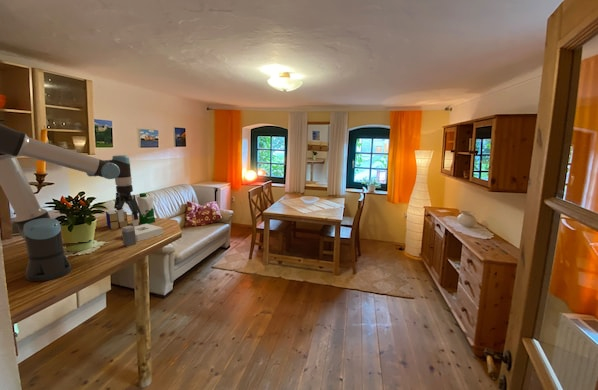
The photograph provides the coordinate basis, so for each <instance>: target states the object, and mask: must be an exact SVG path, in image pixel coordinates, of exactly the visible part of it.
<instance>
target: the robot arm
mask: <svg viewBox="0 0 598 390" xmlns="http://www.w3.org/2000/svg"><path fill="white" fill-rule="evenodd" d="M21 156H23V157H27V158H31V159H34V160H37V161H42V162H46V163H49V164H53V165H56V166H60V167H64V168H66V169H67V168H68V169H71V170H75V171H78V172H82V173H85V174H86V175H87V176H88V177H101V178H103V179H107V180H113V179H114V183H115V185H116V186H115V190H116V192H115V199H114V200H115V201H114V207H113V208H114V209H115V210H117V212H118V220H119V222H122V221H124V214H123V210H124V204H126V205H127V206H128V207H129V209H130V211H131V220H132V221H131V222H132V226H133V227H135V226H139V224H140V223H139V213H140V209H139V207H138V202H137V198H136V195H135V194H132V192H133V191H134V190H133V187H134V186H133V181H132V172H131V171H132V169H131V161H130V156H128V155H126V154H122V155H121V154H120V155H118V154H117V155H113V156H112V159H107V160H103V159H99V158H96V157H93V156H90V155H86V154H83V153H81V152H78V151H74V150H71V149H67V148H65V147H64V148H63V147H61V146H57V145H54V144H51V143H48V142H45V141H42V140H38V139H35V138H32V137H29V136H28V135H27V133H24V132H21V131H18V130H16V129H13V128H11V127H9V126H6V125H4V124H2V123H0V187H1V189H2V190H3V192H4V195H5V196H6V198H7V200H8V203H9V204H10V206H11V208H12V210H13V212H14V214H15V217H14V219H13V221H14V223H15V225H16V227H17V229H18V232H19V234H20V236H21V238H23V240H24V242H25V245H26V247H25V248H26V252H27V257H28V262H27V265H26V270H25V279H27V280H26V281H28V282H32V281H39V282H45V281H50V280H51V281H52V280H55V279H57V278H61V277H63V276H66V275H67V274H68V273H70V272H71V271H72V266H71V262H70V260H69V259H68V258H67V256H66V255H65V251H64V245H63V244H64V243H63V237H62V226H61V224H60V221H59V220H58V219H55V218H53V217H52V218H51V215H50V214H49V212H48V210H47V209H46V208H42V206H41V205H40V203H39V201H38V199H37V196H36V195H35V192H34V191H33V188H32V187H31V185H30V182H29V180H28V178H27V176H26V174H25V172H24V170H23V168H22V167H21V165H20V161H19V160H18V158H17V157H21ZM121 209H123V210H121Z"/></svg>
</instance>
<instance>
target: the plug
mask: <svg viewBox="0 0 598 390" xmlns="http://www.w3.org/2000/svg"><path fill="white" fill-rule="evenodd" d="M121 230H122V234H123V237H122V243H123V246H126V247H131V246H135V245H137V241H136V238H135V226H133V225H128V226H126V227H122V228H121ZM122 234H121V235H122Z"/></svg>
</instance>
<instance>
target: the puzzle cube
mask: <svg viewBox="0 0 598 390" xmlns="http://www.w3.org/2000/svg"><path fill="white" fill-rule="evenodd" d="M121 210H123V214H124V221H122V222H119V220H118V212H117V210H116V209H115V210H107V211H105V217H106V224H107V225H106V226H107V227H108V228H109V229H110V230H117V229H122V227H126V226H129V223H128V215H127V213H128V212H127V211H125V209H124V208H123V209H121Z"/></svg>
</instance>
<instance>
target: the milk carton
mask: <svg viewBox="0 0 598 390" xmlns="http://www.w3.org/2000/svg"><path fill="white" fill-rule="evenodd" d="M135 199H136V202H137V204H138V207H139V209H140V213H138V223H139V224H140V225H143V224H150V225H151V224H153V223H156V218H155V210H154V199H155V197H154V196H151V195H147V193H145V192H143V193H142V192H141V193H139V196H137V197H136V196H135Z"/></svg>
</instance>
